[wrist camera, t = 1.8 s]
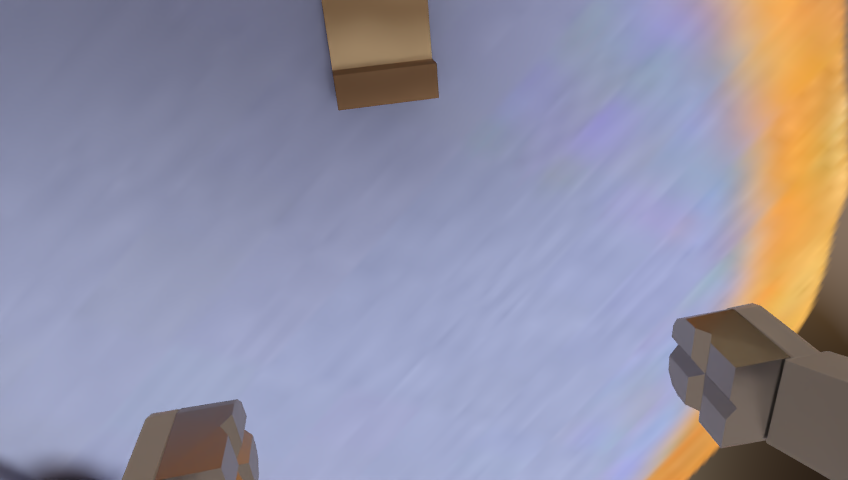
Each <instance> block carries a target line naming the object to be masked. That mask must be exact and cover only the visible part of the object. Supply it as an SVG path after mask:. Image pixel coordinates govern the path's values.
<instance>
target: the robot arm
mask: <svg viewBox="0 0 848 480" xmlns="http://www.w3.org/2000/svg"><path fill="white" fill-rule="evenodd" d="M672 338H673V339H674V340H675V341H676V342H677V344H678V346H677V347H676V348H675V349H674V351H673V352H672V353H671V355H670V357H669V374H670V378H671V382H672V385H673V387H674V389H675V391H676V393H677V395H678V396H679V397H680V399H681V400H682V401H683V402H684V404H686V405H688V406H690V407H692V408H694V409H696V410H699V411H700V414H699V422H700V423H701V424H702V426H703V427H704V428H705V429H706V431H707V432H708V433H709V434H710V435H711V437H712V438H713V439H714V440H715V441H716V443H717V444H718V445H719V446H720V447H721V448H724V447H730V446H735V445H741V444H746V443H752V442H758V441H764V440H767V441H766V443H768V444H770V445H772V446H773V447H775V448H777V449H779V450H780V451H782V452H784V453H785V454H787V455H789V456H791V457H792V458H794V459H796V460H798V461H799V462H801V463H803V464H805V465H806V466H808V467H810V468H812V469H813V470H815V471H817V472H818V473H820V474H822V475H824V476H825V477H827V478H829V479H831V480H848V357H845V356H842V355H839V354H836V353H833V352H829V351H827V352H821V353H820V352H819V351H818V350H817V349H815V348H814V347H813V346H812V345H810V344H809V343H808V342H806V341H805V340H804V339H802V338H801V337H800V336H799V335H797V334H796V333H795V332H794V331H792V330H791V329H790V328H788V327H787V326H786V325H785V324H783V323H782V322H781V321H780V320H778V319H777V318H776V317H774V316H773V315H772V314H771V313H769V312H768V311H767V310H765V309H764V308H763V307H762V306H760V305H756V304H753V303H751V304H746V305H742V306H737V307H732V308H727V309H726V310H720V311H715V312H710V313H705V314H699V315H694V316H689V317H684V318H678V319H677V320H676V322H675V323H674V325H673V331H672ZM246 417H247V416H246V413H245V410H244V408H243V405H242V402H241V401H239V400H238V399H236V400H230V401H224V402H218V403H212V404H205V405H199V406H193V407H187V408H181V409H177V410H171V411H165V412H159V413H153V414H151V415H150V416H149V417H147V418H146V420H145V422H144V424H143V427H142V429H141V432H140V434H139V437H138V439H137V442H136V445H135V447H134V450H133V452H132V455H131V457H130V460H129V462H128V465H127V467H126V470H125V472H124V475H123V478H122V480H258V478H259V467H258V454H257V449H256V444H255V441H254V438H253V435H252V434H250V433H249V432H247V431H246V430H245V423H246Z"/></svg>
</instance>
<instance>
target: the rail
mask: <svg viewBox="0 0 848 480" xmlns="http://www.w3.org/2000/svg"><path fill="white" fill-rule="evenodd" d="M322 7H323V13H324V19H325V26H326V32H327V39H328V45H329V52H330V58H331V64H332V71H333V78H334V84H335V91H336V97H337V104H338V110H346V109H353V108H361V107H369V106H377V105H385V104H393V103H401V102H409V101H417V100H424V99H432V98H439V92H438V78H437V63H436V62H435V61H434V60H433V59H432V54H431V40H430V26H429V13H428V0H322Z"/></svg>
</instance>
